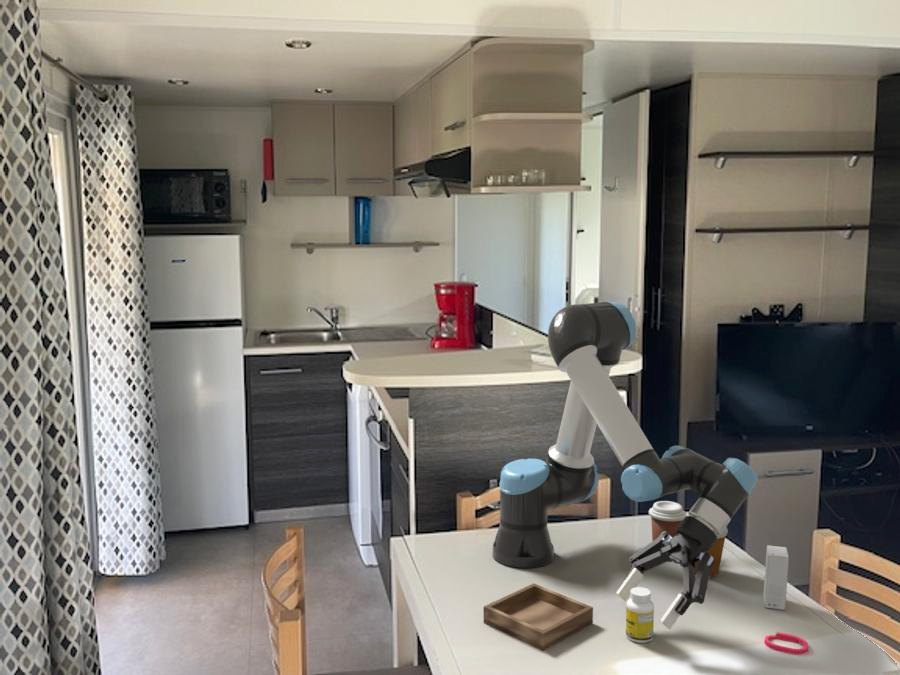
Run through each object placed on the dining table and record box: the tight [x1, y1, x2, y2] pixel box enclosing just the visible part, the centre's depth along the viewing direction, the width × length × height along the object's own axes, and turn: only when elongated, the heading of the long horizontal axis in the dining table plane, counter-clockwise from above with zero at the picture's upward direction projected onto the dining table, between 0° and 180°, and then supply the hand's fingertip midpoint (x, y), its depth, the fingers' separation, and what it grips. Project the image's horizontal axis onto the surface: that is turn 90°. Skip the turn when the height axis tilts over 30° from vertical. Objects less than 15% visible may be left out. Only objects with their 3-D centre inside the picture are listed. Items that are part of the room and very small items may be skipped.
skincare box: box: [763, 545, 790, 611], centre depth 186 cm, size 6×4×12 cm
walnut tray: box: [483, 583, 594, 651], centre depth 178 cm, size 16×16×4 cm
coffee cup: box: [648, 500, 687, 553], centre depth 215 cm, size 9×9×12 cm
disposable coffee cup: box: [695, 526, 729, 578], centre depth 203 cm, size 10×10×12 cm
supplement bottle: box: [625, 586, 655, 644], centre depth 172 cm, size 5×5×10 cm
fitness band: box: [763, 631, 810, 655], centre depth 169 cm, size 8×6×2 cm
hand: (641, 610), depth 171 cm, fingers open, 13 cm apart
